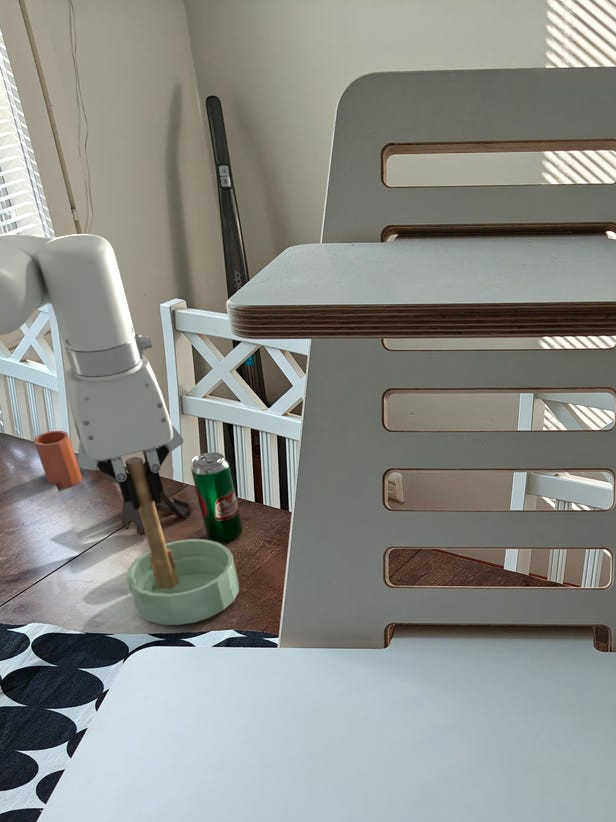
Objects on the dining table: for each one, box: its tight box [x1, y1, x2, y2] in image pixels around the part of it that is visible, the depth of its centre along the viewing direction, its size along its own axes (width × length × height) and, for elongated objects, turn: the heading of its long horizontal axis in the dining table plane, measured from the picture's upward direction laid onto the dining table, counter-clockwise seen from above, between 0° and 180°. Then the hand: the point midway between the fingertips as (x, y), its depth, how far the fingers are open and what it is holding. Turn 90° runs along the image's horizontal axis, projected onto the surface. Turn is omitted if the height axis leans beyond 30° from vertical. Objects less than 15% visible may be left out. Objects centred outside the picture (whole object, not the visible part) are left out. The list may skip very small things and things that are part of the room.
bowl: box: [126, 538, 240, 626], centre depth 127 cm, size 13×13×5 cm
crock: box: [33, 430, 83, 490], centre depth 152 cm, size 5×5×8 cm
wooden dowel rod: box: [124, 456, 180, 590], centre depth 122 cm, size 3×2×18 cm
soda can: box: [190, 452, 244, 543], centre depth 137 cm, size 5×5×12 cm
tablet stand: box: [104, 470, 192, 535], centre depth 142 cm, size 9×8×8 cm
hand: (145, 500), depth 119 cm, fingers closed on wooden dowel rod, 2 cm apart
